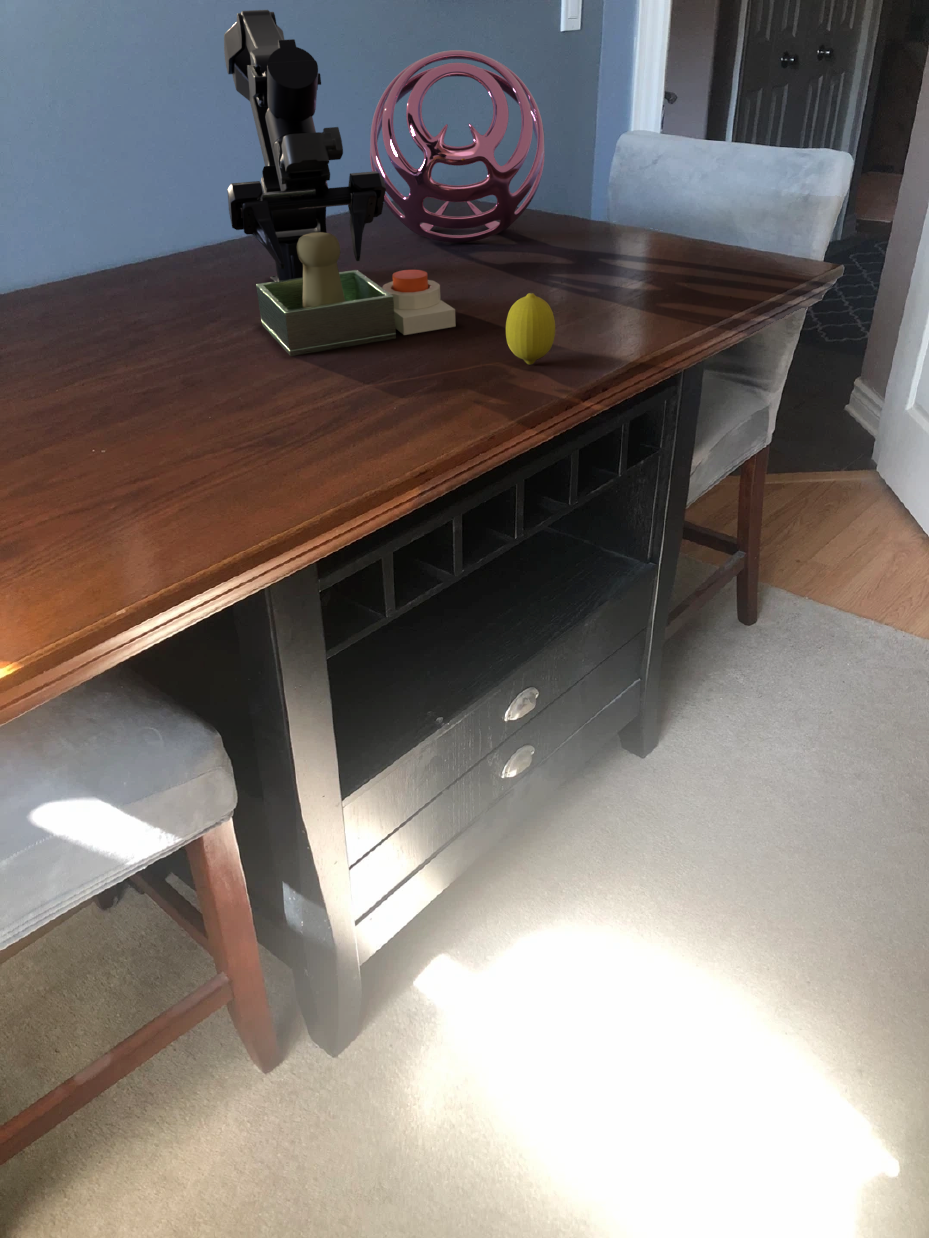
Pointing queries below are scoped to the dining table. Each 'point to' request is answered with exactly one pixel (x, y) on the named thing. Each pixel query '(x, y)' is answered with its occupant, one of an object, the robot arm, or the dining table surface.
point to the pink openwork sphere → (458, 149)
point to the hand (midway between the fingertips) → (320, 263)
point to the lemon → (530, 328)
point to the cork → (320, 269)
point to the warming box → (326, 315)
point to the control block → (420, 310)
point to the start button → (410, 281)
